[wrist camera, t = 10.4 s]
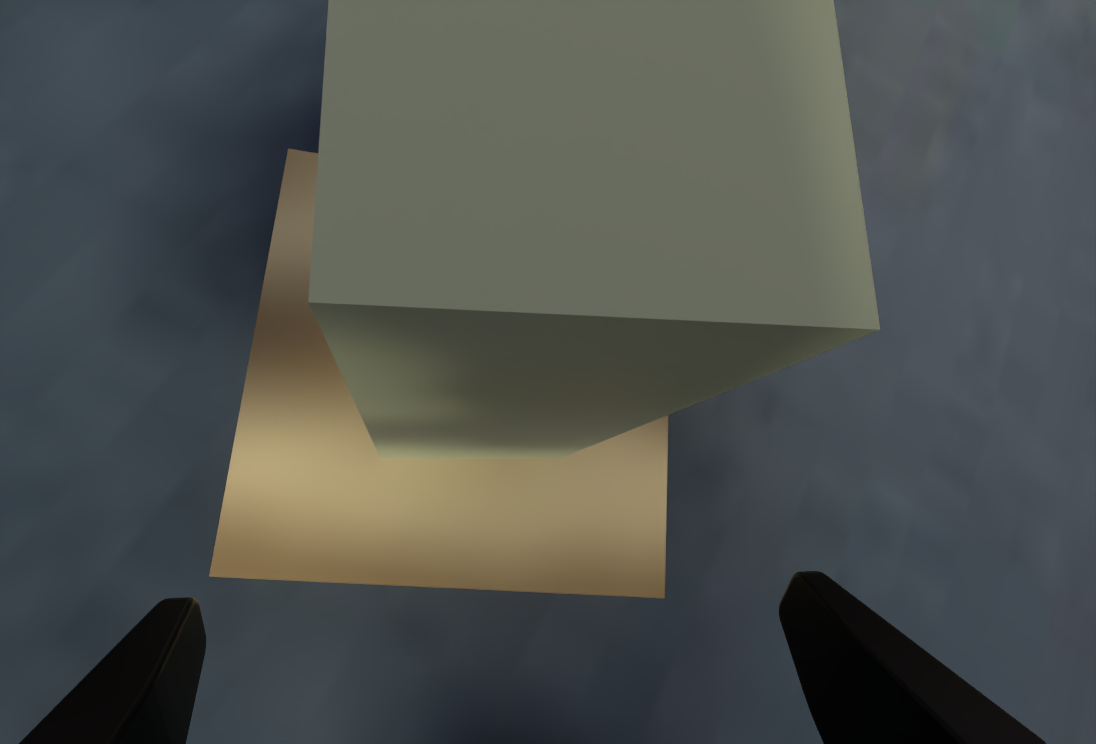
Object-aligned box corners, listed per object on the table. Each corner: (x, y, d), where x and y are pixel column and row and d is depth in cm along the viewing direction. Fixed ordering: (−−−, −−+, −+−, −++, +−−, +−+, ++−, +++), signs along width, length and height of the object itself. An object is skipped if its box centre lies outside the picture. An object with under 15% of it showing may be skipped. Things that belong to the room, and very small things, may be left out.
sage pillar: (560, 458, 18) (880, 329, 6) (380, 458, 17) (308, 302, 5) (556, 293, 19) (818, -107, 7) (387, 284, 18) (342, -207, 6)
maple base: (629, 587, 21) (664, 598, 18) (239, 567, 19) (209, 576, 16) (640, 250, 24) (672, 213, 21) (304, 197, 21) (288, 148, 19)
